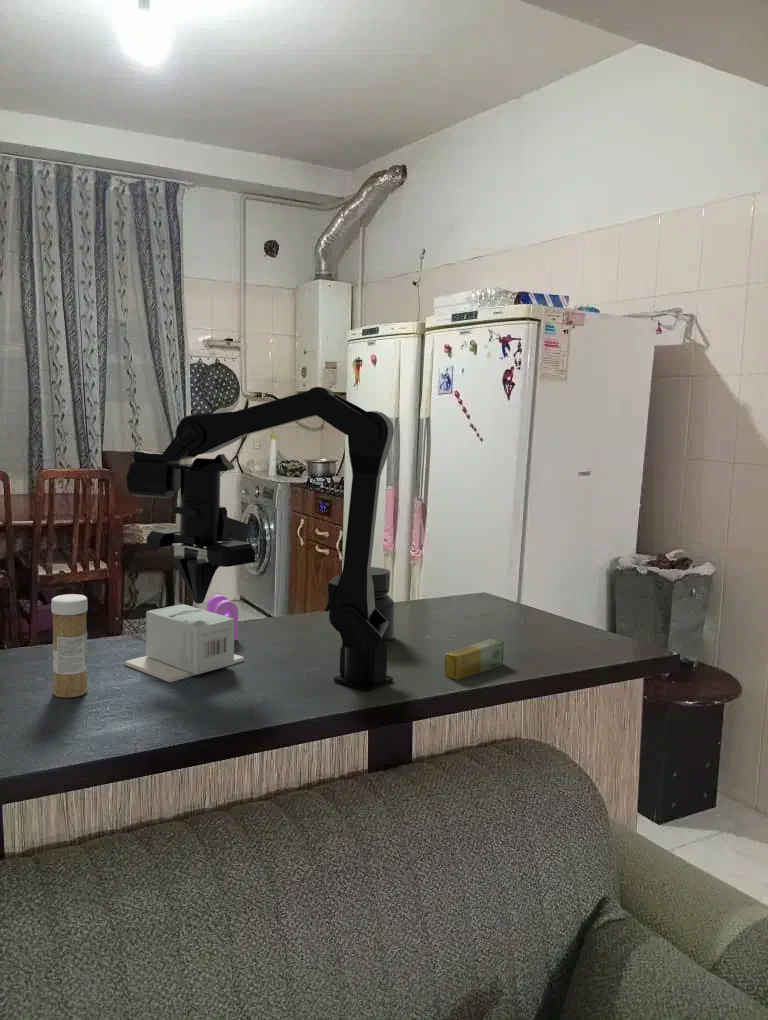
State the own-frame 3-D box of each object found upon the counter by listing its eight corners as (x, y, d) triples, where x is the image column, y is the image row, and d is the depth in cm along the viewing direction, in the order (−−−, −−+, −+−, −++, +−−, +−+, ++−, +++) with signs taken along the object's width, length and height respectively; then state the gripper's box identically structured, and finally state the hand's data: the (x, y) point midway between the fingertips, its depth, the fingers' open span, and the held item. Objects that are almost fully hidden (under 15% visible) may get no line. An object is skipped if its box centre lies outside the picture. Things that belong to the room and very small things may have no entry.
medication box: (490, 661, 133) (491, 637, 132) (504, 665, 131) (505, 641, 131) (443, 677, 124) (444, 651, 124) (457, 681, 122) (458, 655, 122)
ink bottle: (332, 633, 144) (334, 567, 143) (374, 627, 149) (376, 563, 148) (361, 648, 136) (364, 578, 135) (404, 641, 141) (407, 574, 140)
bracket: (227, 632, 143) (227, 593, 143) (237, 640, 139) (238, 600, 138) (152, 640, 137) (152, 599, 136) (161, 649, 132) (161, 607, 131)
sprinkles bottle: (58, 687, 113) (57, 592, 111) (92, 687, 113) (91, 593, 112) (48, 699, 108) (46, 600, 107) (83, 699, 109) (82, 601, 107)
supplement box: (196, 626, 117) (143, 610, 125) (196, 676, 118) (144, 657, 126) (235, 617, 123) (183, 602, 130) (235, 664, 124) (183, 647, 131)
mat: (243, 660, 127) (243, 657, 127) (169, 682, 117) (170, 678, 117) (198, 645, 134) (198, 642, 134) (125, 664, 123) (125, 661, 123)
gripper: (283, 503, 121) (281, 605, 123) (202, 490, 132) (201, 584, 134) (225, 508, 112) (224, 618, 114) (144, 494, 123) (144, 595, 125)
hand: (199, 602), depth 122 cm, fingers closed
